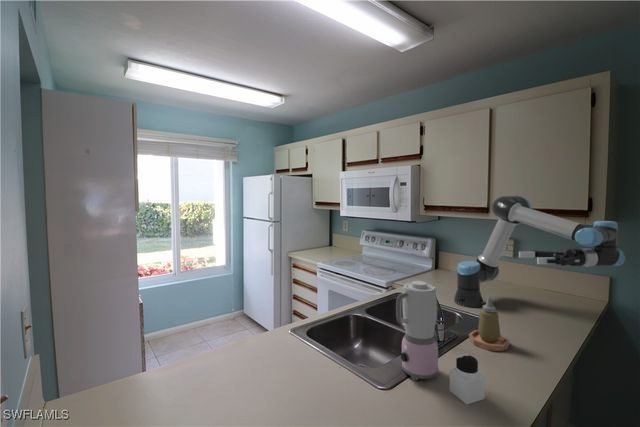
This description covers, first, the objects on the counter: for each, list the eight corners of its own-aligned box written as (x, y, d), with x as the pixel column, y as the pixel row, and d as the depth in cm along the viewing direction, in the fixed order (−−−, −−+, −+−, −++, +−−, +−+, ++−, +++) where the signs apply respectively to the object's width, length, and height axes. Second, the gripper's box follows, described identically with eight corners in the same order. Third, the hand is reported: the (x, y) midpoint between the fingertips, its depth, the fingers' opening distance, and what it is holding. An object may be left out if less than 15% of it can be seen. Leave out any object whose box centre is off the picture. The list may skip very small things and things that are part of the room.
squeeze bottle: (503, 345, 121) (503, 301, 120) (481, 344, 123) (481, 300, 122) (495, 336, 129) (496, 295, 128) (475, 335, 130) (475, 294, 130)
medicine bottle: (485, 399, 91) (485, 361, 90) (467, 405, 89) (467, 366, 88) (466, 385, 98) (466, 349, 97) (449, 390, 95) (449, 354, 95)
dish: (465, 334, 133) (465, 329, 133) (498, 335, 132) (498, 330, 132) (478, 350, 119) (478, 345, 119) (515, 351, 118) (515, 346, 118)
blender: (422, 359, 114) (422, 276, 112) (446, 377, 102) (446, 285, 101) (387, 368, 108) (386, 281, 107) (408, 388, 97) (407, 291, 95)
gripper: (604, 273, 118) (546, 273, 120) (559, 260, 142) (512, 260, 144) (604, 254, 117) (546, 254, 119) (560, 244, 142) (512, 244, 144)
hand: (528, 257), depth 132 cm, fingers open, 13 cm apart
